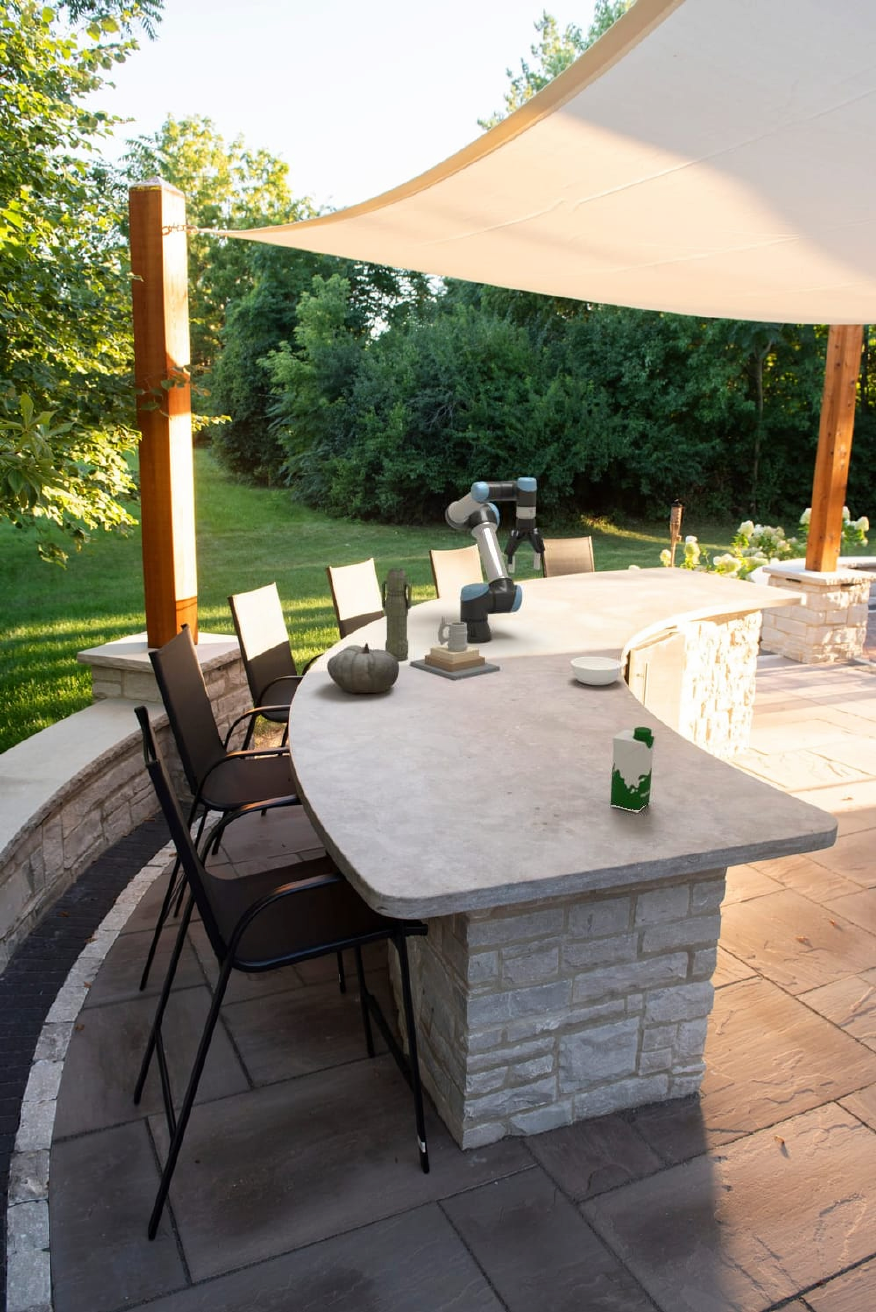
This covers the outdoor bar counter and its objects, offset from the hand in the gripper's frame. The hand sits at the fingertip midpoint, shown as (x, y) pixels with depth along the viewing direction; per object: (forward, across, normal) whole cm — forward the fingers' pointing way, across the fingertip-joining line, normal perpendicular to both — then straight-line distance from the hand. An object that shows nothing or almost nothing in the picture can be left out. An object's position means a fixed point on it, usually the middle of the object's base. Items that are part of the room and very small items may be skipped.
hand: (524, 570), depth 377 cm
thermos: (+32, -52, +14) cm, 63 cm away
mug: (+24, -43, -9) cm, 51 cm away
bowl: (+32, -13, -54) cm, 64 cm away
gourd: (+32, -85, -13) cm, 92 cm away
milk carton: (+32, -87, -135) cm, 164 cm away
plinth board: (+32, -42, -9) cm, 54 cm away
